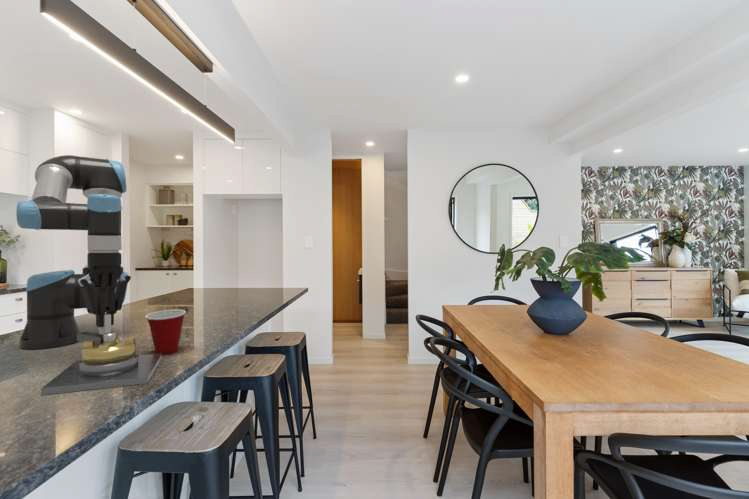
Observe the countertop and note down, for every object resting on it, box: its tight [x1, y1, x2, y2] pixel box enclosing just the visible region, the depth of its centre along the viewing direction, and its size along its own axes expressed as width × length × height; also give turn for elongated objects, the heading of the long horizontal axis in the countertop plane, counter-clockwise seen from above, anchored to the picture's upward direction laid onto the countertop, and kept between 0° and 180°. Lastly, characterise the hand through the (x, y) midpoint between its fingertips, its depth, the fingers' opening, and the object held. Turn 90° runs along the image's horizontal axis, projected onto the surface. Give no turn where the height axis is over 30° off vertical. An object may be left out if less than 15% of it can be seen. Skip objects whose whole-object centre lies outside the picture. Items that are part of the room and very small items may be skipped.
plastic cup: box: [144, 308, 187, 355], centre depth 113 cm, size 11×11×12 cm
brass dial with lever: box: [77, 331, 137, 364], centre depth 95 cm, size 18×11×6 cm, turn 66°
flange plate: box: [40, 352, 163, 396], centre depth 93 cm, size 20×20×4 cm
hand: (105, 338), depth 102 cm, fingers closed
